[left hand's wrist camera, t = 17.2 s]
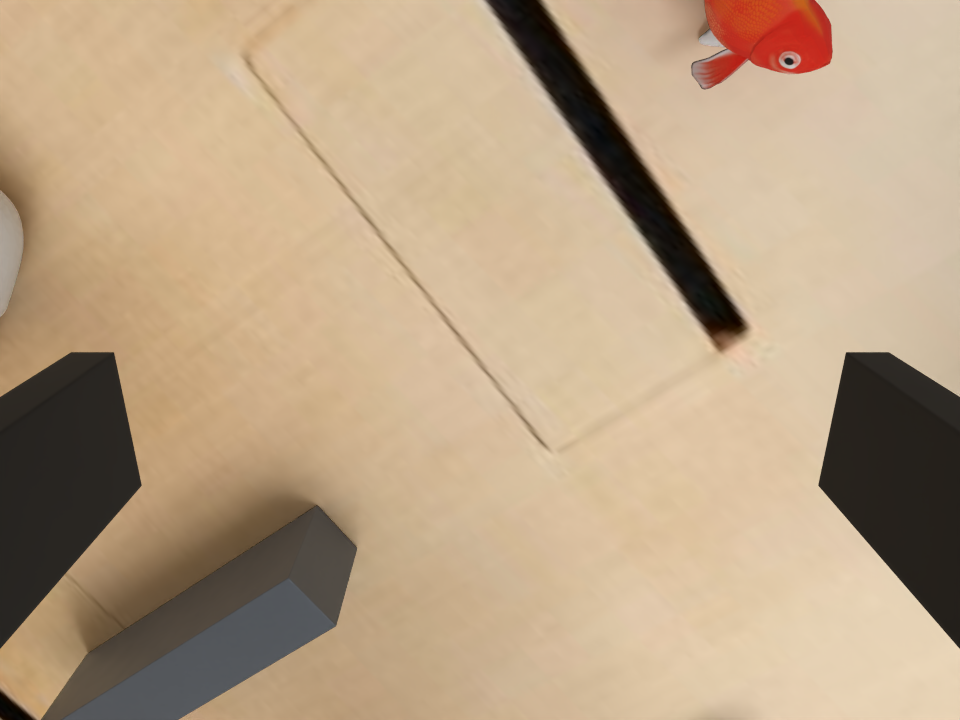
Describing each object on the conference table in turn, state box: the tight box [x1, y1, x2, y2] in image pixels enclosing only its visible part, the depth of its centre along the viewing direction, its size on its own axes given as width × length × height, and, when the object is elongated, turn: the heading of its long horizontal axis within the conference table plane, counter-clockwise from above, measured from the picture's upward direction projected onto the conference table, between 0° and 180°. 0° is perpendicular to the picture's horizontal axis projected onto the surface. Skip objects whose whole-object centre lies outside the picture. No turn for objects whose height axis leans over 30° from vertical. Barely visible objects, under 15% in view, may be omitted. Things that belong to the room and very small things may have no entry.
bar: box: [41, 506, 357, 720], centre depth 49 cm, size 24×5×8 cm, turn 125°
